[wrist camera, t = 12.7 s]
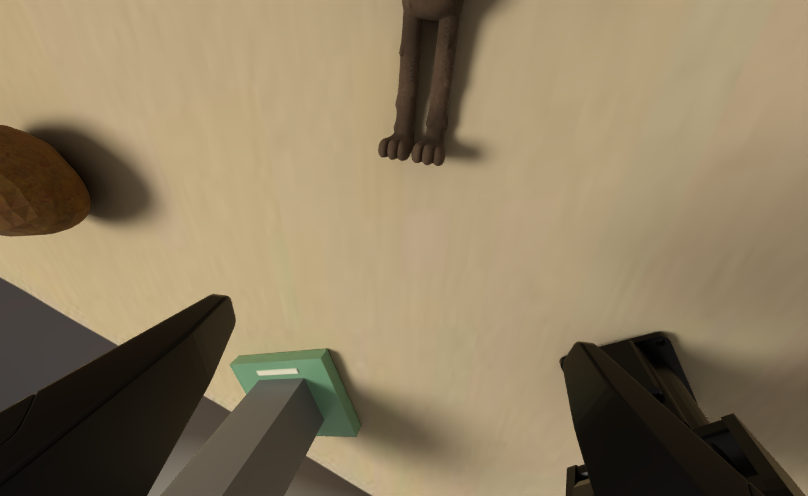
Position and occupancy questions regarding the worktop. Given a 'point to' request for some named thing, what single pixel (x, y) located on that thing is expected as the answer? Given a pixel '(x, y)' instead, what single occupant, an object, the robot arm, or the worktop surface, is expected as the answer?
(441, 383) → the worktop surface
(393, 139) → the brown clay figure
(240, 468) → the grey rectangular block
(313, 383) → the header board
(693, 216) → the worktop surface
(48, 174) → the potato
